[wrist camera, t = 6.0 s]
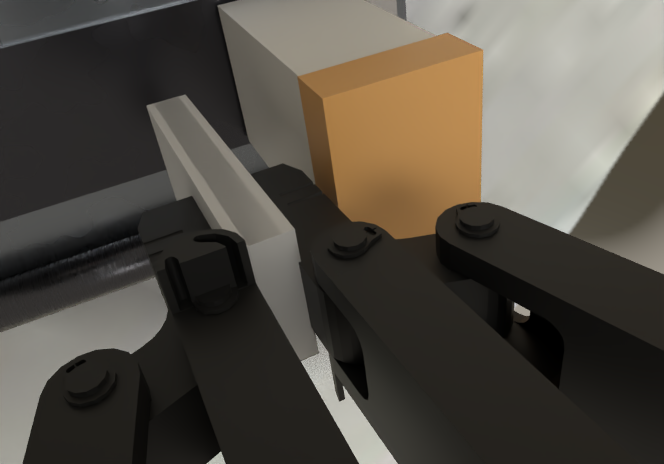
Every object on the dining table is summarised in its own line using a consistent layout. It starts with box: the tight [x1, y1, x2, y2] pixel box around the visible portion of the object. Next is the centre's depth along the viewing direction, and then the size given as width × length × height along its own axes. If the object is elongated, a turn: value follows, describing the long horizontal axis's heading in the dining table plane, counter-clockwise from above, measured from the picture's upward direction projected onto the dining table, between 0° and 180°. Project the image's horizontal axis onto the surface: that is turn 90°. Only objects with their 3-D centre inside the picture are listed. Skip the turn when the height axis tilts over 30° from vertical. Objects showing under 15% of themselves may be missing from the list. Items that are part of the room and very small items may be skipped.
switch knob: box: [217, 0, 483, 239], centre depth 15 cm, size 3×4×7 cm
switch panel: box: [0, 0, 406, 332], centre depth 17 cm, size 20×11×4 cm, turn 98°
